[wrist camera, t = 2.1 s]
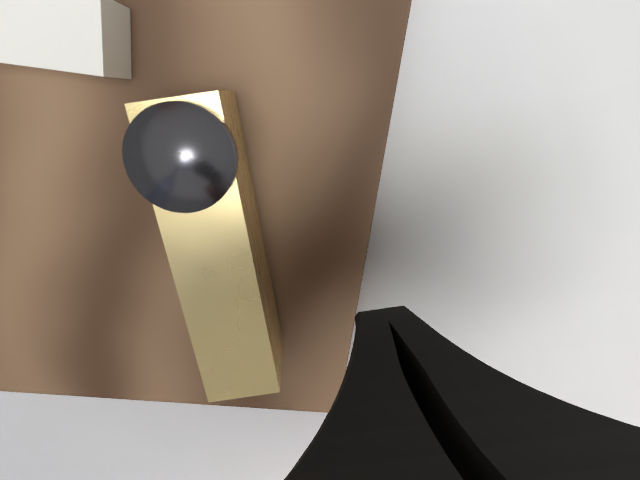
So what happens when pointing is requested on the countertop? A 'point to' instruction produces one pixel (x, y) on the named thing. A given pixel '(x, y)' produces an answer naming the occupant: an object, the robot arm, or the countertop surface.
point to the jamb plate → (138, 213)
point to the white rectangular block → (67, 36)
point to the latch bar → (210, 235)
